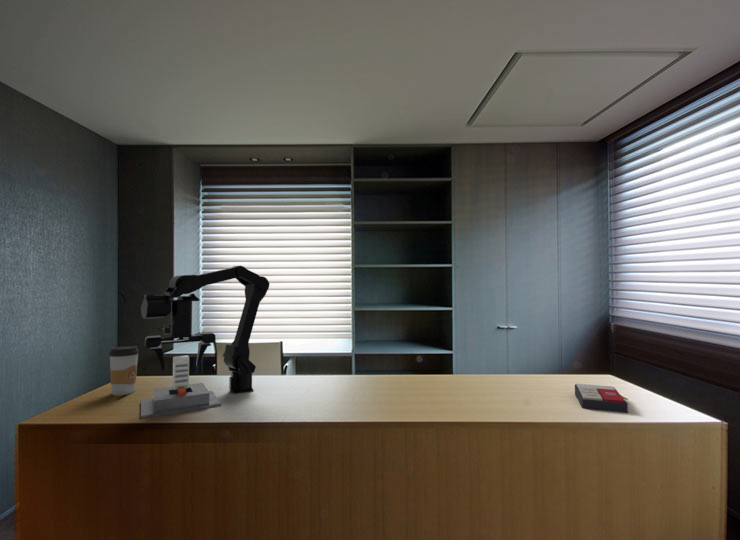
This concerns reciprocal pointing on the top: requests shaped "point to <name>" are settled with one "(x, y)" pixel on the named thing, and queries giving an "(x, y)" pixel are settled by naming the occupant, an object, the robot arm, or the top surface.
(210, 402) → the stand base
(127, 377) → the coffee cup
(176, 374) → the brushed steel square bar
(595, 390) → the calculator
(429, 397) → the top surface
